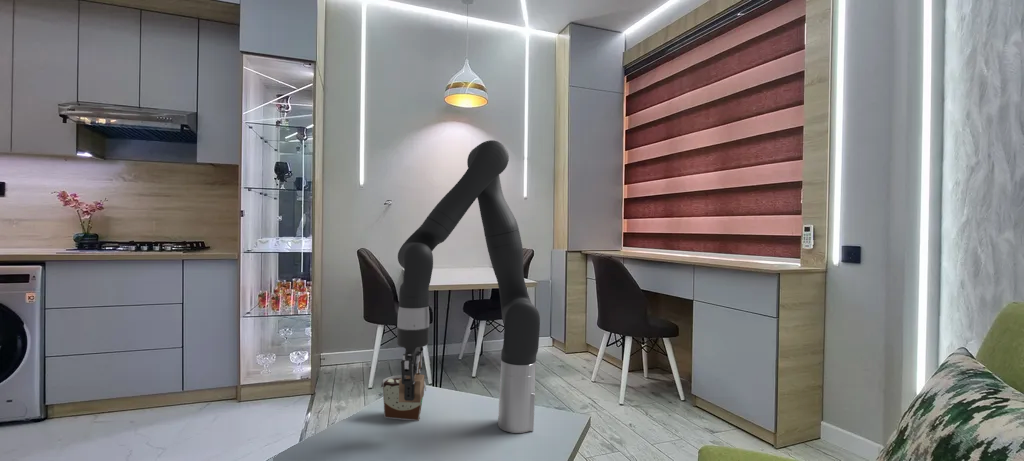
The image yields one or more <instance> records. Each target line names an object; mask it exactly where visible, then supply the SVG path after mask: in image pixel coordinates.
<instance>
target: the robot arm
mask: <svg viewBox="0 0 1024 461" xmlns="http://www.w3.org/2000/svg"><path fill="white" fill-rule="evenodd" d="M509 156H510V155H509V152H508V150H507V147H506V146H505V145H504V144H503V143H502V142H499V141H498V140H492V139H491V140H490V139H489V140H485V141H483V142H480V144H477V146H475V147H474V148H473V149H471V151H470V152H469V154H468V156H467V161H466V162H467V170H466V171H465V172H464V174H463V175H462V176H461V177H460V178H459V179H458V181H457V183H455V184H454V186H453V187H451V189H450V190H449V191H448V192H447V193H446V194H445V195H444V196H443V197H442V198H441V199H440V201H439V202H437V204H436V205H435V206H434V208H433V209H432V210H431V212H430V213H429V214H428V215H427V217H426V218H425V219H424V221H423V222H422V224H420V226H419V227H418V228H417V229H416V230H415V231H414V232H413V233H412V234H411V235H410V236H409V237H408V238H407V239H406V240H405V241H404V243H403V244H402V245H401V246H400V248H399V250H398V252H397V260H398V261H397V262H398V264H399V265H400V266H401V268H402V269H403V279H402V280H403V281H402V283H401V284H400V286H399V292H398V293H399V295H398V296H399V297H398V312H397V329H396V330H397V331H396V345H397V346H398V347H400V348H404V349H405V352H404V353H403V354H402V359H401V362H400V366H401V369H400V370H401V375H402V384H404V385H405V391H404V399H405V400H406V401H412V400H414V389H415V376H416V375H422V374H421V372H422V370H423V354H424V353H423V352H424V347H426V346H428V344H430V310H429V309H430V306H429V304H430V303H429V301H430V283H431V280H432V275H433V274H432V273H433V268H434V255H433V251H434V249H435V248H436V247H437V246H438V245H440V244H442V243H444V242H445V241H446V240H447V238H449V237H450V235H451V234H452V232H453V231H454V229H455V228H456V227H457V226H458V224H459V223H460V222H461V220H462V219H463V217H464V216H465V215H466V213H467V212H468V211H469V209H470V207H471V206H472V205H473V203H474V202H475V201H476V200H477V201H478V208H479V213H480V218H481V223H482V227H483V233H484V238H485V243H486V248H487V252H488V255H489V259H490V263H491V267H492V269H493V272H494V276H495V278H496V282H497V286H498V292H499V301H500V308H501V309H500V310H501V320H502V323H503V324H504V325H503V326H504V327H503V328H504V329H503V342H502V349H501V354H500V373H499V374H500V380H499V398H498V417H497V418H498V419H497V420H498V421H497V426H498V428H499V429H500V430H502V431H504V432H508V433H513V434H522V433H523V434H524V433H527V432H534V430H535V429H534V427H535V404H536V391H535V388H536V368H537V367H536V366H537V365H536V364H537V354H538V352H539V344H540V333H541V332H540V329H541V316H540V312H539V310H538V309H537V307H536V306H535V305H534V304H533V303H532V301H531V298H530V296H529V292H528V289H527V285H526V282H525V276H524V275H525V274H524V250H523V243H522V237H521V233H520V229H519V225H518V222H517V219H516V218H515V215H514V213H513V212H512V210H511V208H510V206H509V205H508V203H507V201H506V199H505V196H504V194H503V190H502V184H501V179H500V178H501V176H500V175H501V174H502V173H504V171H505V170H506V168H507V167H508V164H509V159H510V158H509ZM407 376H410V379H407Z"/></svg>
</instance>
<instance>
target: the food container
mask: <svg viewBox="0 0 1024 461" xmlns="http://www.w3.org/2000/svg"><path fill="white" fill-rule="evenodd" d="M401 378H402V374H401V375H400V374H399V375H392V376H389V377H386V378H384V379H382V382H381V384H380V388H382V394H383V396H382V397H383V415H384V416H383V418H384V419H394V420H404V421H405V420H406V421H416V422H419V420H420V419H421V418H420V417H421V412H422V404H423V398H424V397H423V398H422V400H421V402H420V403H413V402H399V381H400V379H401ZM426 391H427V382H426V381H425V379H424V392H426Z"/></svg>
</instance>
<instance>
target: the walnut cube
mask: <svg viewBox="0 0 1024 461" xmlns="http://www.w3.org/2000/svg"><path fill="white" fill-rule="evenodd" d="M407 379H410V376H407ZM424 380H425V374H420V375H416V376H415V389H414V400H412V401H406V400H405V399H404V391H405V385H404V384H402V378H401V379H400V381H399V402H413V403H420V402H421V400H422V401H423V399H422V398H424V395H425V388H424Z"/></svg>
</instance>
